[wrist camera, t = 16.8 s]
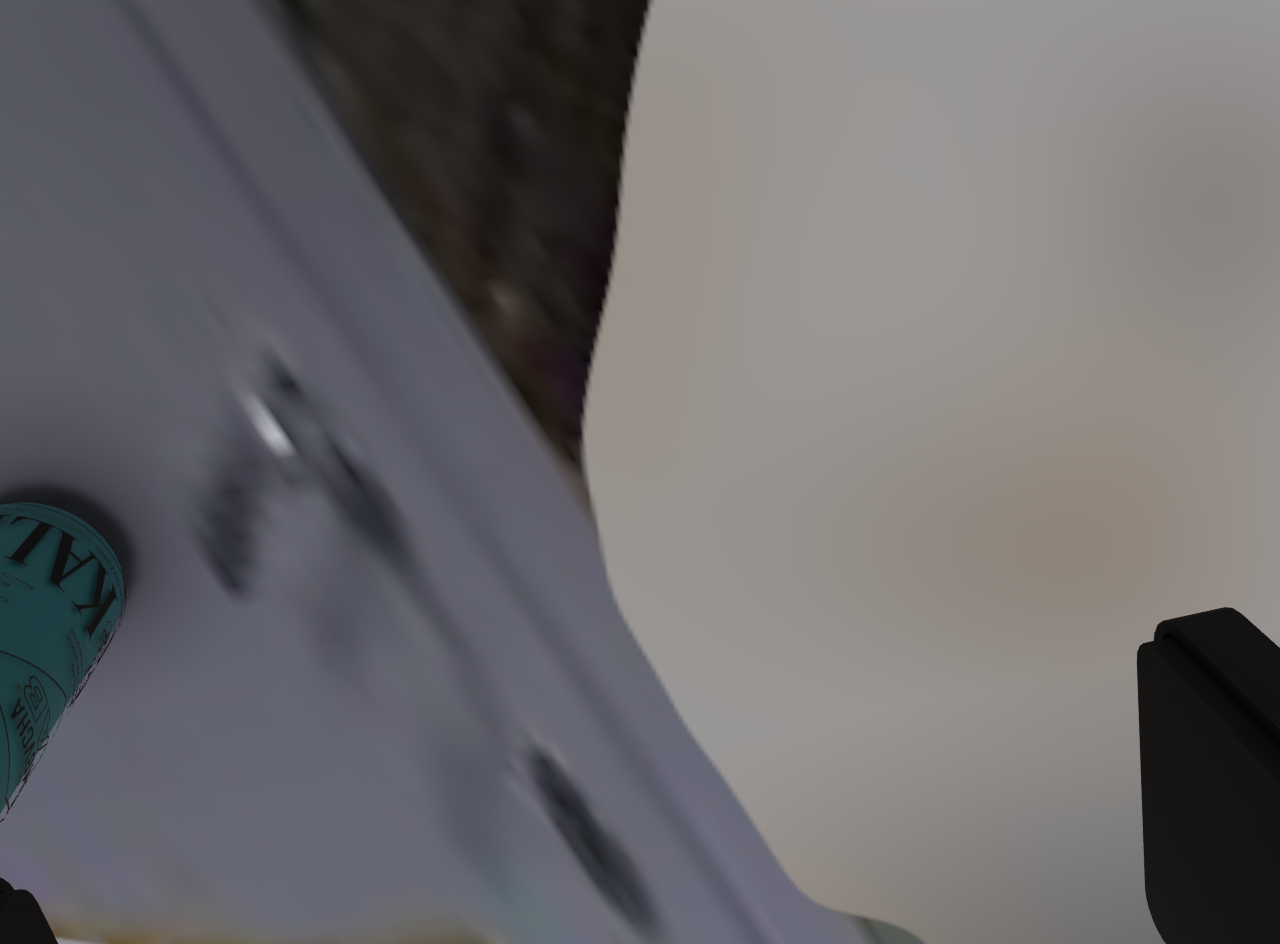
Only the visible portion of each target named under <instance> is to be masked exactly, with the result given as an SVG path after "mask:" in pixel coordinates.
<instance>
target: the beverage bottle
mask: <svg viewBox="0 0 1280 944" xmlns="http://www.w3.org/2000/svg"><path fill="white" fill-rule="evenodd" d="M124 587H125V583H124V578H123V575H122V570H121V567H120V564H119V561H118V559H117V557H116V555H115V553H114V551H113V550H112V548H111V547H110V546H109V544H108V543H107V541H106V540H105V539H104V538H103V537H102V536H101V535H100V534H99V533H98V532H97V531H96V530H95V529H94V528H93V527H92V526H90V525H89V524H88V523H86V522H85V521H84V520H82V519H80V518H78V517H77V516H75V515H73V514H71V513H69V512H67V511H64V510H62V509H59V508H56V507H53V506H49V505H44V504H40V503H31V502H16V503H5V504H0V813H1V812H2V810H3V809H4V807H5V805H6V804H7V806H8V811H9V809H10V808H9V802H8V800H9V799H10V797H11V795H12V794H13V792H14V790H15V789H16V787H17V786H18V785H19V784H20V783H19V782H20V781H21V779H22V777H23V776H24V775H25V774H26V772H27V770H28V769H29V767H30V765H31V764H32V762H33V761H34V758H35V756H36V754H37V753H38V751H39V750H41V749H42V748H43V747H44V746H46V745H47V743H46V744H45V745H44V746H42V745H43V743H44V741H45V740H46V739H47V738H49V736H48V735H49V733H50V731H51V730H52V728H53V727H54V725H55V723H56V722H57V720H58V718H59V717H60V715H61V713H62V712H63V711H64V709H65V707H66V705H67V704H68V702H69V700H70V699H71V697H73V696H74V692H75V691H77V689H78V688H77V687H78V686H79V684H80V682H82V680H83V678H84V676H86V673H87V672H88V671H89V669H90V668H91V667H92V666H91V664H92V663H93V661H94V660H96V656H97V655H98V653H100V652H101V651H102V650H103V649H102V650H101V648H102V646H103V645H105V644H106V642H107V640H108V639H107V638H109V636H110V633H111V632H112V630H113V628H114V627H115V625H117V624H116V623H117V621H118V618H119V616H120V618H121V616H122V615H120V613H121V612H122V610H121V609H122V606H123V596H124ZM125 598H126V588H125ZM125 606H126V601H125ZM124 612H125V611H124ZM123 616H124V615H123ZM120 620H121V619H120ZM122 620H123V619H122ZM119 624H120V623H119ZM120 625H121V624H120ZM118 627H119V625H118ZM115 629H116V627H115ZM116 632H117V631H116ZM114 633H115V630H114ZM114 633H113V635H114ZM113 635H112V637H111V639H110V641H109V643H108V645H107V647H108V646H109V644H110V643H111V640H112V638H113ZM114 636H115V635H114ZM107 647H106V649H107ZM106 649H105V650H104V651H103V652H104V653H105V651H106ZM100 650H101V651H100ZM103 652H102V653H103ZM102 653H101V654H102ZM104 653H103V654H104ZM102 656H103V655H102ZM102 656H101V657H102ZM101 657H100V658H99V659H98V660H97V661H98V662H99V661H100V659H101ZM97 658H98V657H97ZM97 661H96V662H97ZM96 662H95V663H96ZM97 664H98V663H97ZM93 671H94V670H93ZM93 671H92V672H93ZM92 672H91V673H90V671H89V675H88V677H89V676H90V675H91V674H92ZM87 679H89V678H87ZM84 680H85V679H84ZM87 681H88V680H86V682H87ZM81 684H82V683H81ZM83 684H84V683H83ZM85 684H86V683H85ZM85 684H84V686H85ZM84 686H82V689H83V687H84ZM80 687H81V686H80ZM82 689H81V690H80V688H79V690H80V692H81V691H82ZM80 692H78V694H77V696H76V695H75V696H76V698H77V697H78V696H79V694H80ZM76 693H77V692H76ZM76 693H75V694H76ZM72 695H73V696H72ZM74 698H75V697H74ZM76 698H75V699H76ZM75 699H74V700H75ZM74 700H73V698H72V700H71V704H73V703H74V702H75V701H74ZM72 701H73V702H72ZM71 704H70V705H69V706H71ZM69 706H68V707H69ZM72 706H73V705H72ZM68 707H67V708H68ZM67 708H66V709H67ZM69 711H70V710H69ZM62 714H63V713H62ZM67 714H68V713H67ZM61 716H62V715H61ZM60 719H61V718H60ZM59 722H60V721H59ZM58 725H59V724H58ZM57 728H58V727H57ZM56 730H57V729H56ZM55 732H56V731H55ZM54 734H55V733H54ZM53 736H54V735H53ZM47 742H48V740H47ZM41 746H42V747H41ZM48 746H49V745H48ZM44 751H45V749H44ZM43 753H44V752H43ZM41 756H42V755H41ZM40 759H41V757H40ZM36 764H38V763H36ZM32 766H33V764H32ZM32 766H31V767H32ZM31 767H30V769H31ZM35 767H36V766H35ZM33 768H34V767H33ZM30 769H29V771H30ZM34 769H35V768H34ZM29 771H28V772H29ZM28 772H27V774H26V776H25V777H24V779H23V781H24V780H25V782H27V781H26V780H28V779H27V777H29V776H28V774H29V773H30V772H32V771H30V772H29V773H28ZM29 775H30V774H29ZM25 782H24V783H25ZM23 785H25V784H23ZM22 787H24V786H22ZM20 790H22V789H20ZM19 792H21V791H19ZM18 795H19V794H18ZM18 795H17V796H16V797H18ZM15 800H16V798H15ZM15 800H14V801H13V803H14V802H15ZM13 803H12V805H13ZM12 805H11V806H10V807H12ZM8 811H7V814H8ZM3 820H4V819H2V820H1V821H3ZM1 821H0V822H1Z"/></svg>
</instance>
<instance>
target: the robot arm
mask: <svg viewBox="0 0 1280 944" xmlns="http://www.w3.org/2000/svg"><path fill="white" fill-rule="evenodd" d="M1137 678H1138V706H1139V731H1140V732H1139V733H1140V758H1141V759H1140V760H1141V787H1142V813H1143V814H1142V816H1143V842H1144V869H1145V891H1146V898H1147V902H1148V907H1149V910H1150V913H1151V915H1152V919H1153V921H1154V923H1155V926H1156V928H1157V930H1158V932H1159V933H1160V935H1161V937H1162V939H1163V940H1164V942H1165V943H1166V944H1280V648H1279V647H1278V646H1277V645H1276V644H1275V643H1274V642H1272V641H1271V640H1270V639H1269V638H1268V637H1267V636H1266V635H1265V634H1264V633H1262V632H1261V631H1260V630H1259V629H1258V628H1257V627H1256V626H1255V625H1253V624H1252V623H1251V622H1250V621H1249V620H1248V619H1247V618H1246V617H1245V616H1243V615H1242V614H1241V613H1240V612H1238V611H1236V610H1235V609H1233V608H1226V607H1224V608H1219V609H1215V610H1210V611H1206V612H1201V613H1197V614H1192V615H1187V616H1183V617H1178V618H1174V619H1170V620H1165V621H1162V622H1161V623H1159V624H1158V625H1157V628H1156V631H1155V633H1154V641H1151V642H1147V643H1143V644H1142V645H1140V647H1139V649H1138V652H1137ZM0 944H58V942H57V940H56V938H55V936H54V934H53V932H52V930H51V928H50V926H49V924H48V922H47V920H46V918H45V916H44V914H43V912H42V910H41V908H40V906H39V904H38V902H37V901H36V899H35V898H34V896H33V895H32V894H31V893H30V892H28V891H27V890H21V889H19V890H14V889H13V887H12V886H11V885H10V883H8V882H7V881H5V880H4V879H3V878H0Z"/></svg>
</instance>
